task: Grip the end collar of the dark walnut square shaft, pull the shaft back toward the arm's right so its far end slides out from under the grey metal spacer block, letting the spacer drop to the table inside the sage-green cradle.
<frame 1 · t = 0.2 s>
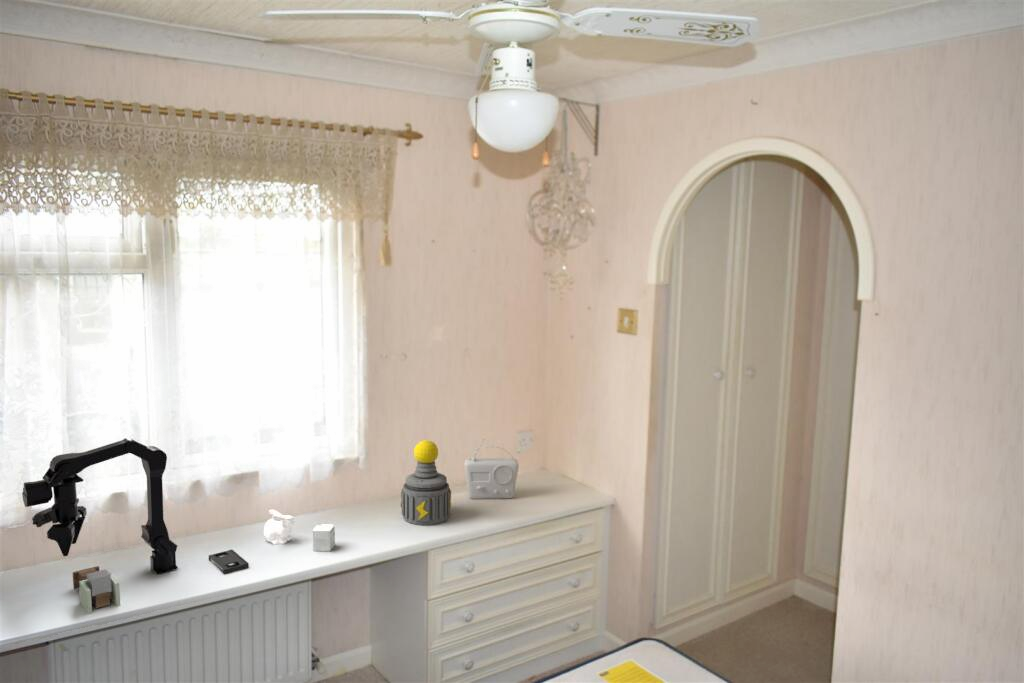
hand: (69, 549, 232), 13 cm above the table, tool pointing down, fingers open, 9 cm apart
rabbit: (279, 541, 275), on the table
cradle: (100, 603, 227), on the table
radio: (491, 497, 324), on the table
decorative lamp: (426, 517, 300), on the table
vhs tape: (228, 565, 256), on the table
shaft: (94, 587, 231), point 3 cm above the table, slide at 0.0 cm, touching spacer
skincare box: (324, 548, 270), on the table
spacer: (99, 591, 227), point 4 cm above the table, touching shaft
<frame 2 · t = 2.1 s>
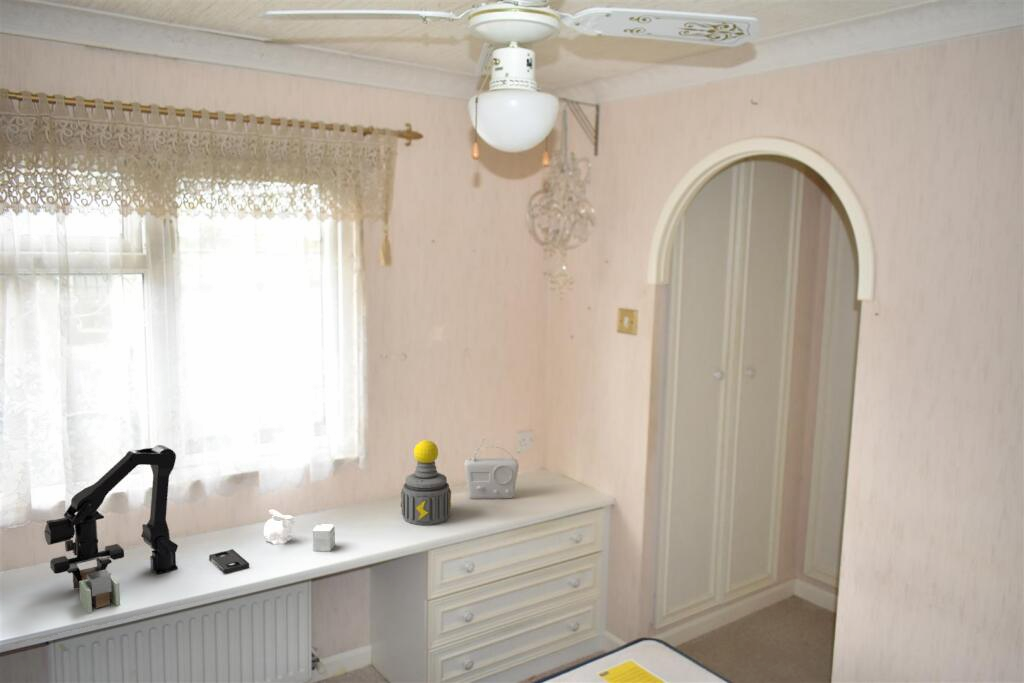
hand: (89, 585, 236), 1 cm above the table, tool pointing down, fingers closed on shaft, 4 cm apart
shaft: (94, 587, 231), point 3 cm above the table, slide at 0.0 cm, touching gripper, spacer
everything else where it was.
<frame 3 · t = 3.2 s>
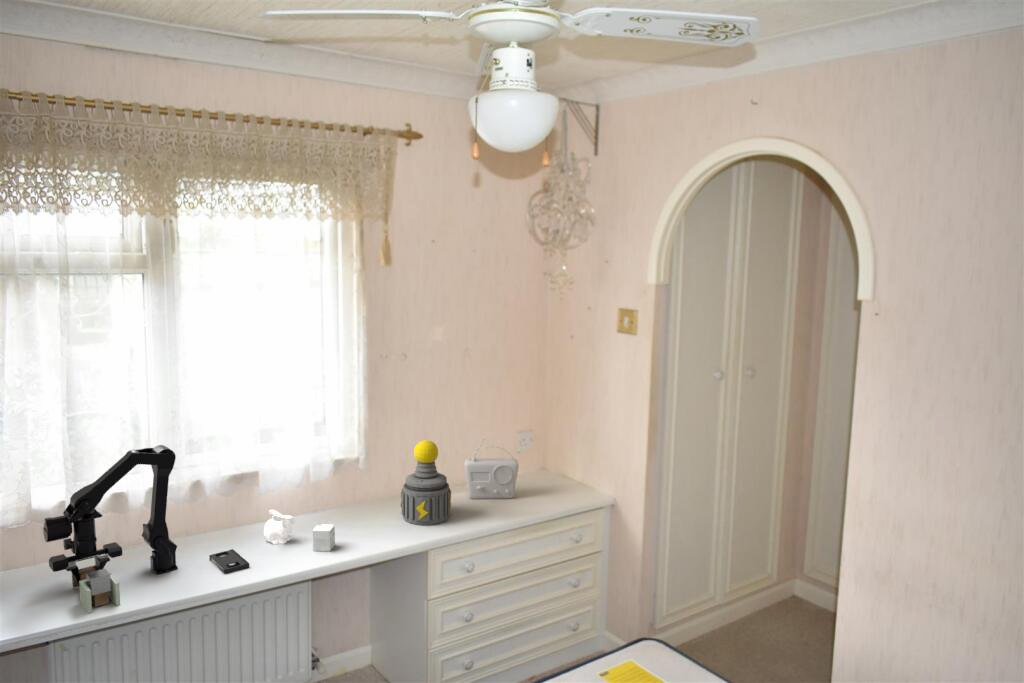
hand: (87, 583, 237), 1 cm above the table, tool pointing down, fingers closed on shaft, 4 cm apart
shaft: (93, 585, 232), point 3 cm above the table, slide at 1.1 cm, touching gripper
spacer: (98, 590, 227), point 4 cm above the table, touching cradle
everything else where it was.
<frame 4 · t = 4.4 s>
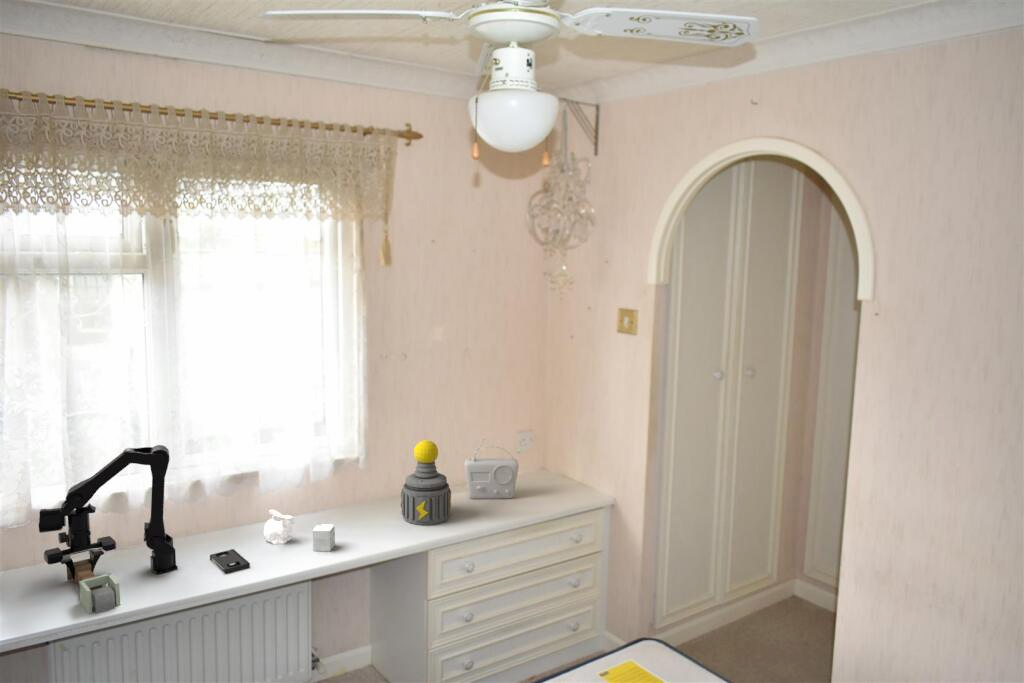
hand: (82, 576, 242), 1 cm above the table, tool pointing down, fingers closed on shaft, 4 cm apart
shaft: (87, 578, 237), point 3 cm above the table, slide at 7.7 cm, touching gripper
spacer: (100, 596, 227), point 2 cm above the table, tilted 90°
everything else where it was.
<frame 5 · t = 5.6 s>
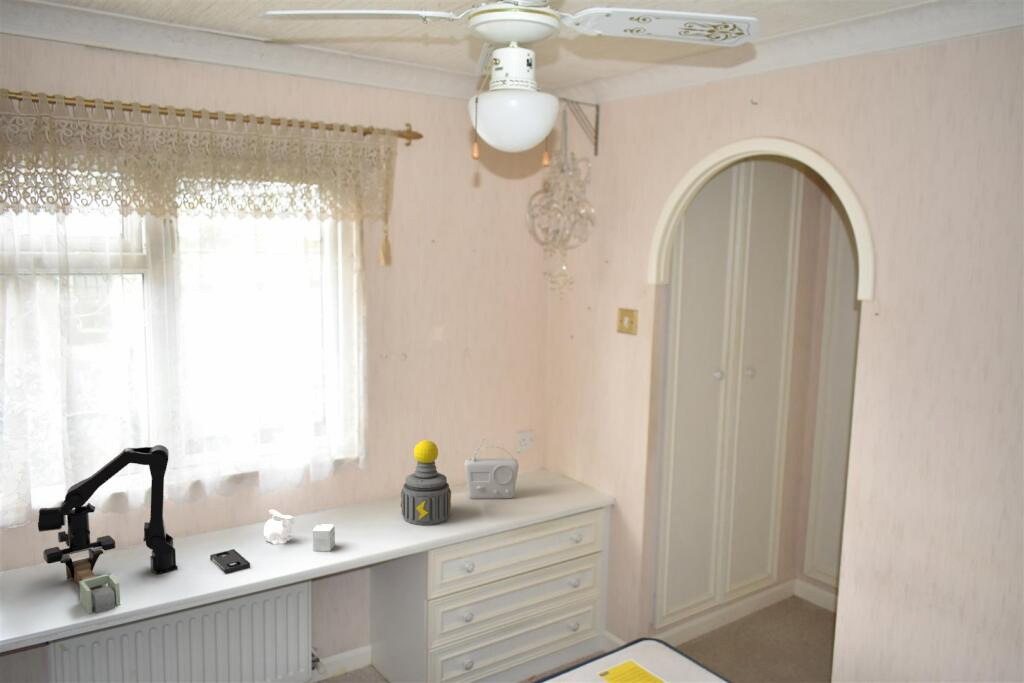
hand: (81, 575, 242), 1 cm above the table, tool pointing down, fingers closed on shaft, 4 cm apart
shaft: (86, 577, 238), point 3 cm above the table, slide at 8.4 cm, touching gripper
everything else where it was.
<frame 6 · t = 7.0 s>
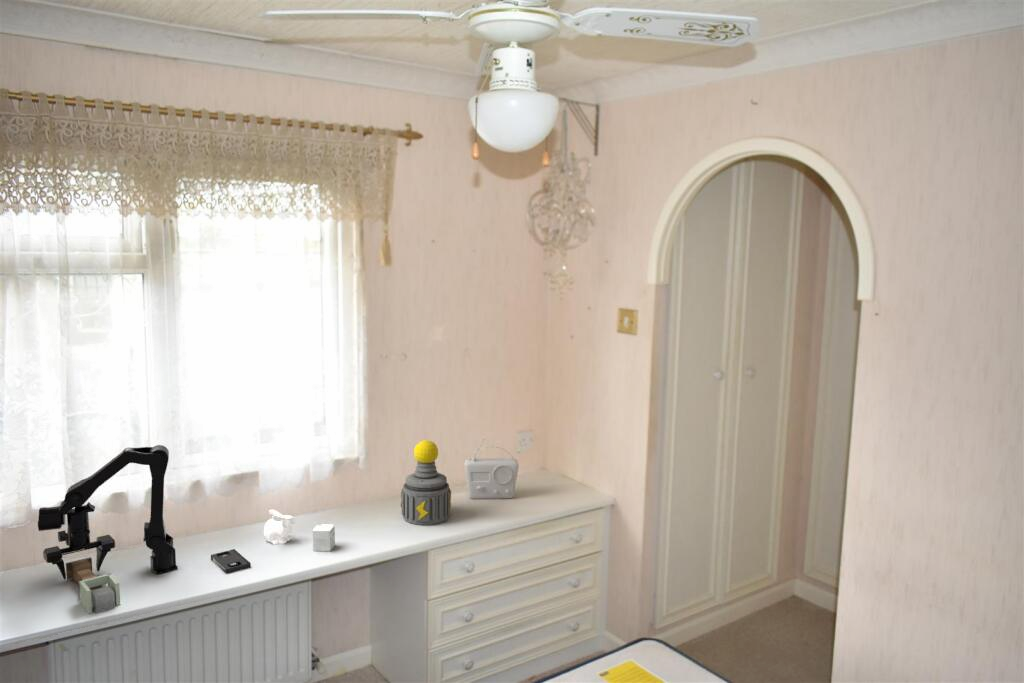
hand: (81, 575, 242), 2 cm above the table, tool pointing down, fingers open, 9 cm apart
shaft: (86, 577, 238), point 3 cm above the table, slide at 8.4 cm
everything else where it was.
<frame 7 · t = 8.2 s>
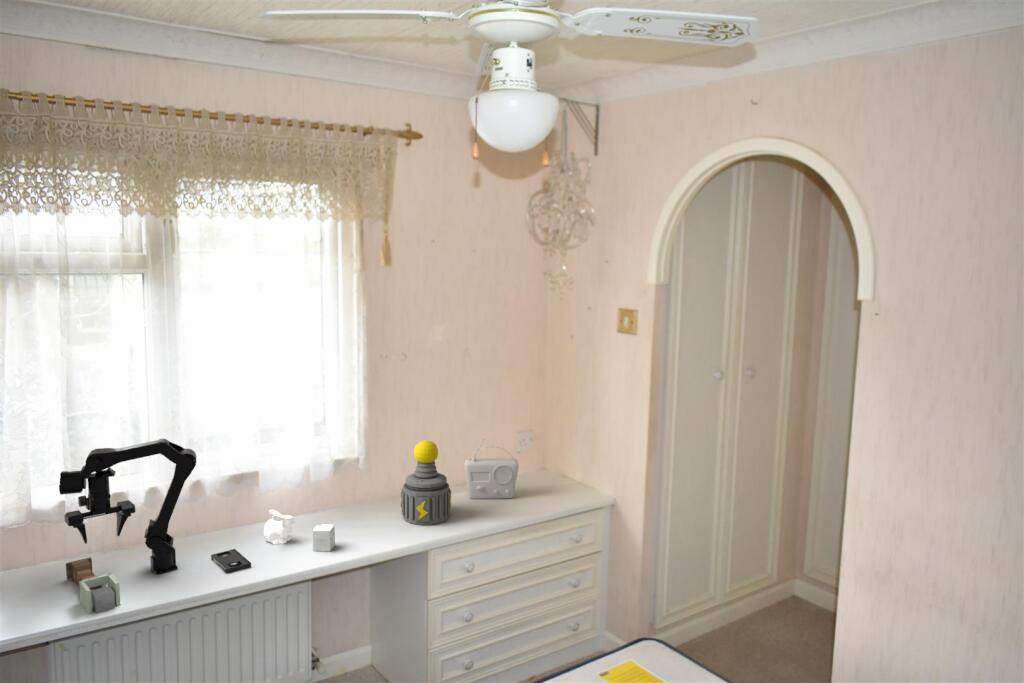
hand: (102, 539, 244), 12 cm above the table, tool pointing down, fingers open, 9 cm apart
nothing on the table moved.
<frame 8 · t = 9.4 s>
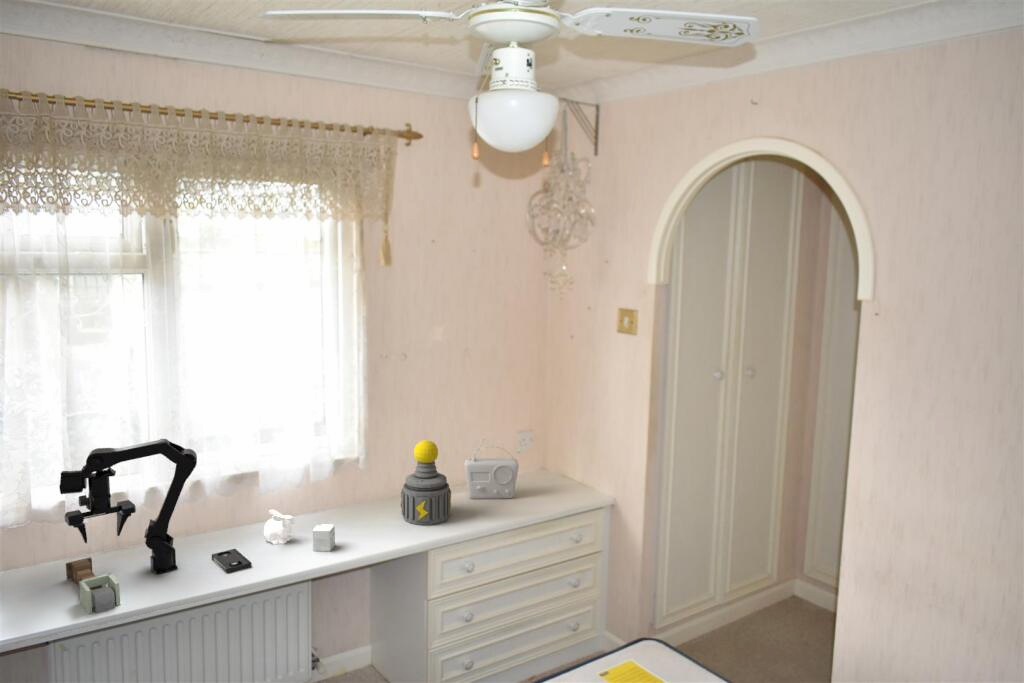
hand: (102, 539, 244), 12 cm above the table, tool pointing down, fingers open, 9 cm apart
nothing on the table moved.
at the end: shaft slide at 8.4 cm; spacer touching table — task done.
